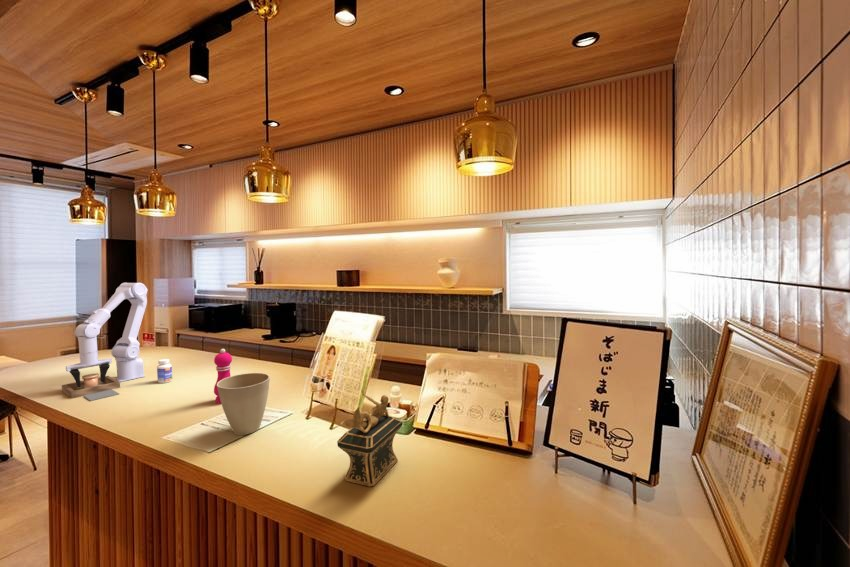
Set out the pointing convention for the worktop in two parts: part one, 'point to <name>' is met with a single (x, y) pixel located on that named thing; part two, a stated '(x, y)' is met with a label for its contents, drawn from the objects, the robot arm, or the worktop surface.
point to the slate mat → (101, 395)
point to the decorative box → (370, 443)
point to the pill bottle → (164, 371)
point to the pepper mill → (222, 369)
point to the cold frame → (78, 393)
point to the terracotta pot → (90, 380)
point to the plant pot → (244, 400)
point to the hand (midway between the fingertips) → (90, 384)
